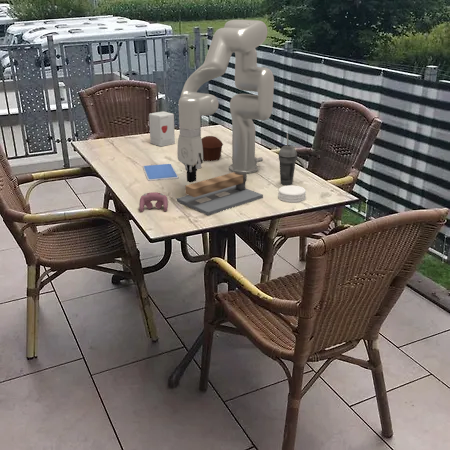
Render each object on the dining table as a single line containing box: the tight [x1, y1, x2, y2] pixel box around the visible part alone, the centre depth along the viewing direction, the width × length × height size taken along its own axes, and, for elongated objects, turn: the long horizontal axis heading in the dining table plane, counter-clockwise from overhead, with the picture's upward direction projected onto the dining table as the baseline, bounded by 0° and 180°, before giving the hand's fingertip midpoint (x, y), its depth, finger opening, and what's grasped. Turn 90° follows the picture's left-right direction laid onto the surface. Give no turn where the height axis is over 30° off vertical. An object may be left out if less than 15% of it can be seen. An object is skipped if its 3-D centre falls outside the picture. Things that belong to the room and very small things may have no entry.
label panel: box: [176, 182, 264, 216], centre depth 202 cm, size 26×18×4 cm
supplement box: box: [148, 110, 176, 147], centre depth 273 cm, size 9×9×15 cm
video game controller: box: [139, 191, 169, 213], centre depth 193 cm, size 10×5×7 cm, turn 93°
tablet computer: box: [142, 163, 179, 182], centre depth 232 cm, size 19×13×1 cm, turn 14°
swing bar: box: [184, 171, 248, 197], centre depth 201 cm, size 26×5×3 cm, turn 131°
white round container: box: [277, 184, 307, 203], centre depth 204 cm, size 10×10×4 cm
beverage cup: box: [278, 132, 298, 186], centre depth 215 cm, size 7×7×20 cm
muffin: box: [201, 135, 224, 162], centre depth 249 cm, size 12×11×10 cm
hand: (191, 181), depth 205 cm, fingers closed
